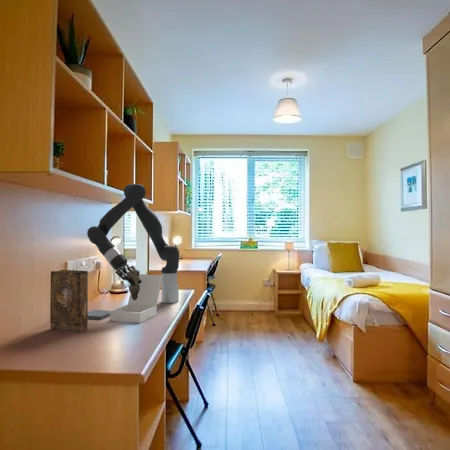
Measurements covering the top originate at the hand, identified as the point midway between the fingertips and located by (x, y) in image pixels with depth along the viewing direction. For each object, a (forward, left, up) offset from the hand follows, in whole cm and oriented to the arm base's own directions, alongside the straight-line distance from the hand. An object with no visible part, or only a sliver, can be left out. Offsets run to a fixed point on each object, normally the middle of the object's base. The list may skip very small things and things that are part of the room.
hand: (137, 283), depth 176 cm
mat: (+11, -18, -16) cm, 27 cm away
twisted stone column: (+1, -2, -8) cm, 8 cm away
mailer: (-2, -3, -16) cm, 17 cm away
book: (+31, -5, -17) cm, 36 cm away
